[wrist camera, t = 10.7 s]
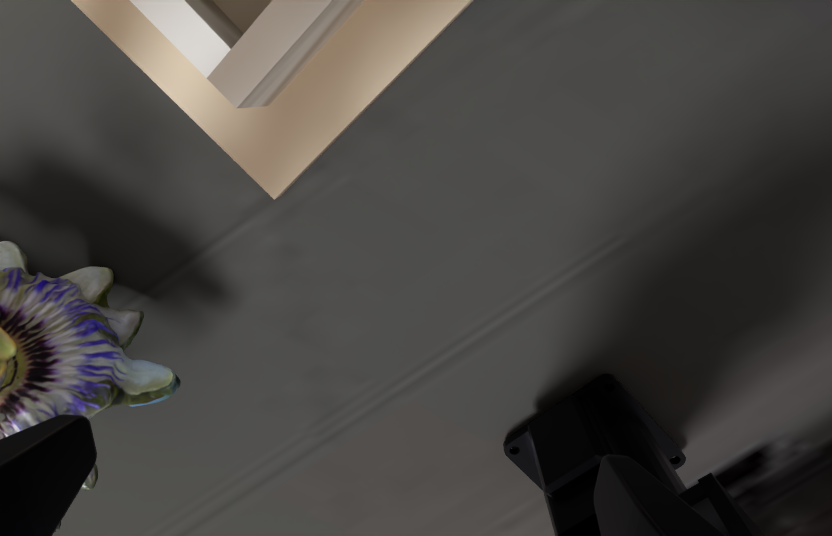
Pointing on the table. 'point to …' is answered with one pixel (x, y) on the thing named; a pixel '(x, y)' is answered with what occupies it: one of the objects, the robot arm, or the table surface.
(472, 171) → the table surface
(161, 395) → the passion flower
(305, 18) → the square well
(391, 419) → the table surface
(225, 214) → the table surface
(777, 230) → the table surface
